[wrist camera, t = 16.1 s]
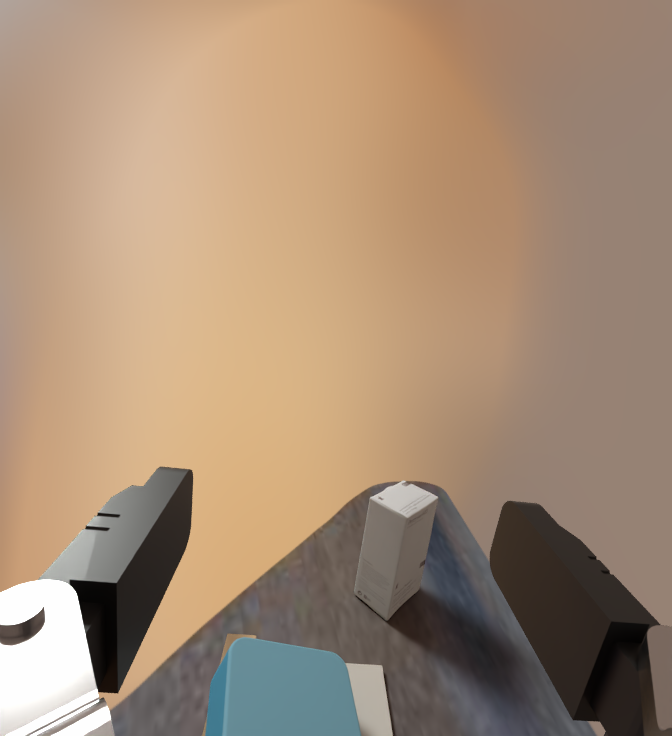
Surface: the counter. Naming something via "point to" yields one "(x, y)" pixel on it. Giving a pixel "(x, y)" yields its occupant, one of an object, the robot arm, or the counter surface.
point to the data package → (280, 692)
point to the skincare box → (394, 547)
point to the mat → (370, 699)
